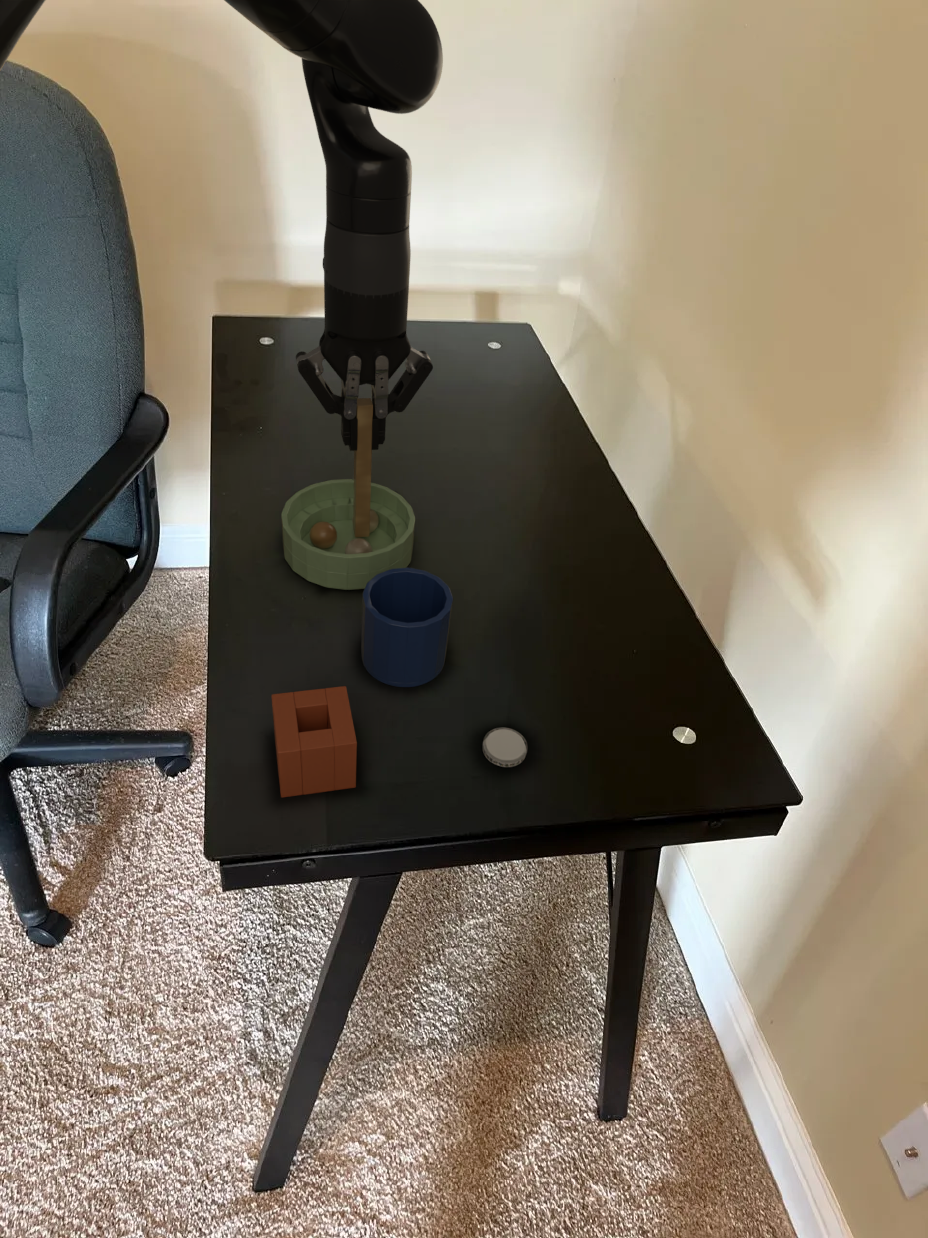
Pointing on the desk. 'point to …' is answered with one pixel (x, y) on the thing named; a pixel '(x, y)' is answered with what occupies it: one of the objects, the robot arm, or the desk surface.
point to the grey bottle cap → (504, 747)
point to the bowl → (346, 534)
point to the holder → (314, 741)
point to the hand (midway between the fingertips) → (363, 445)
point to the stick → (363, 468)
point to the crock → (405, 626)
